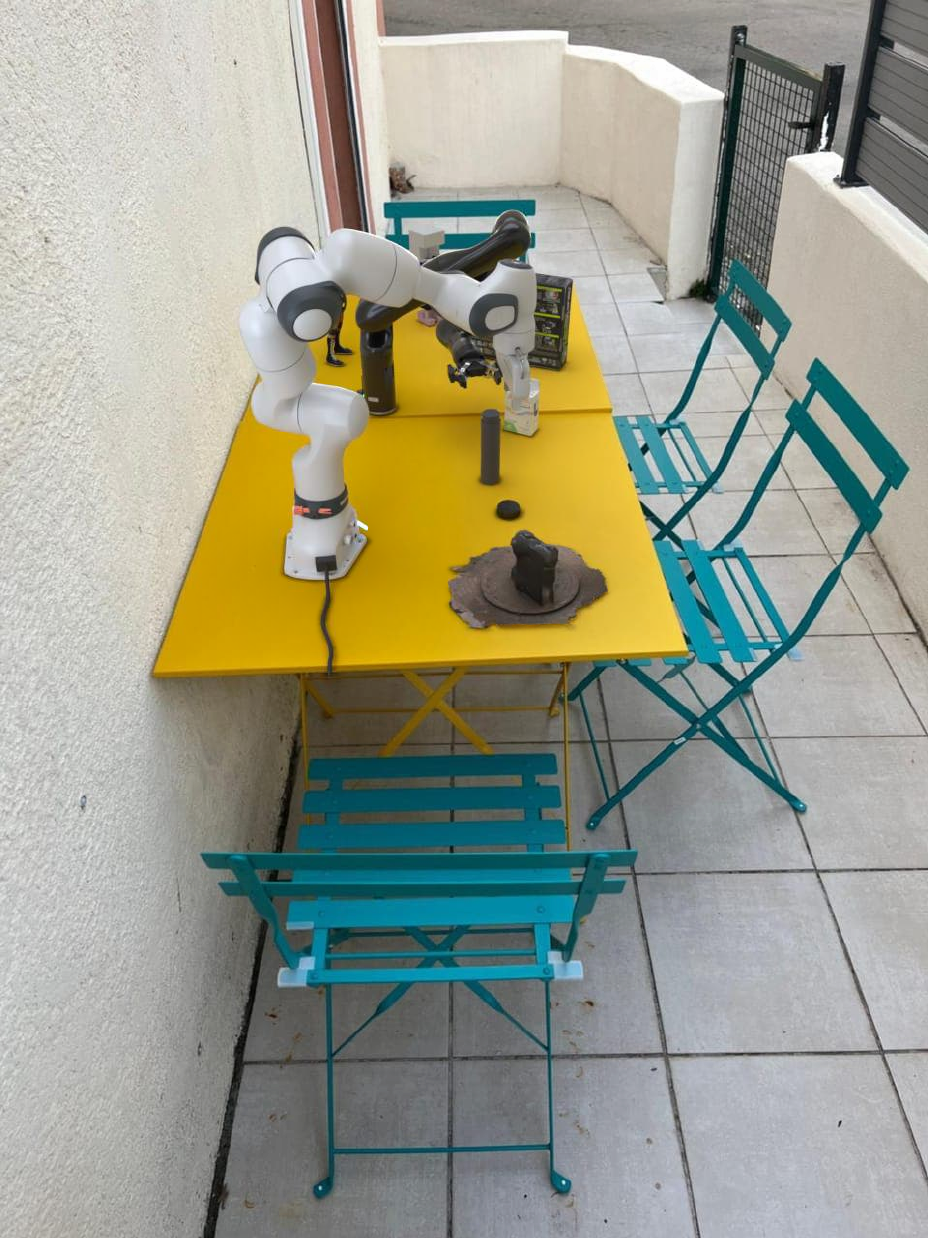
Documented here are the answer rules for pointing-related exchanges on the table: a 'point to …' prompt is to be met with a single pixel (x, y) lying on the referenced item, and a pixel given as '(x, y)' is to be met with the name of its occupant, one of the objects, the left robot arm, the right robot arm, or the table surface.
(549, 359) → the box
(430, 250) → the toy
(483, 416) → the dark grey cylinder
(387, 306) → the right robot arm
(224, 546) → the table surface
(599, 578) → the sculpture
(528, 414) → the ink box
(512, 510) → the lid
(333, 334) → the figurine
